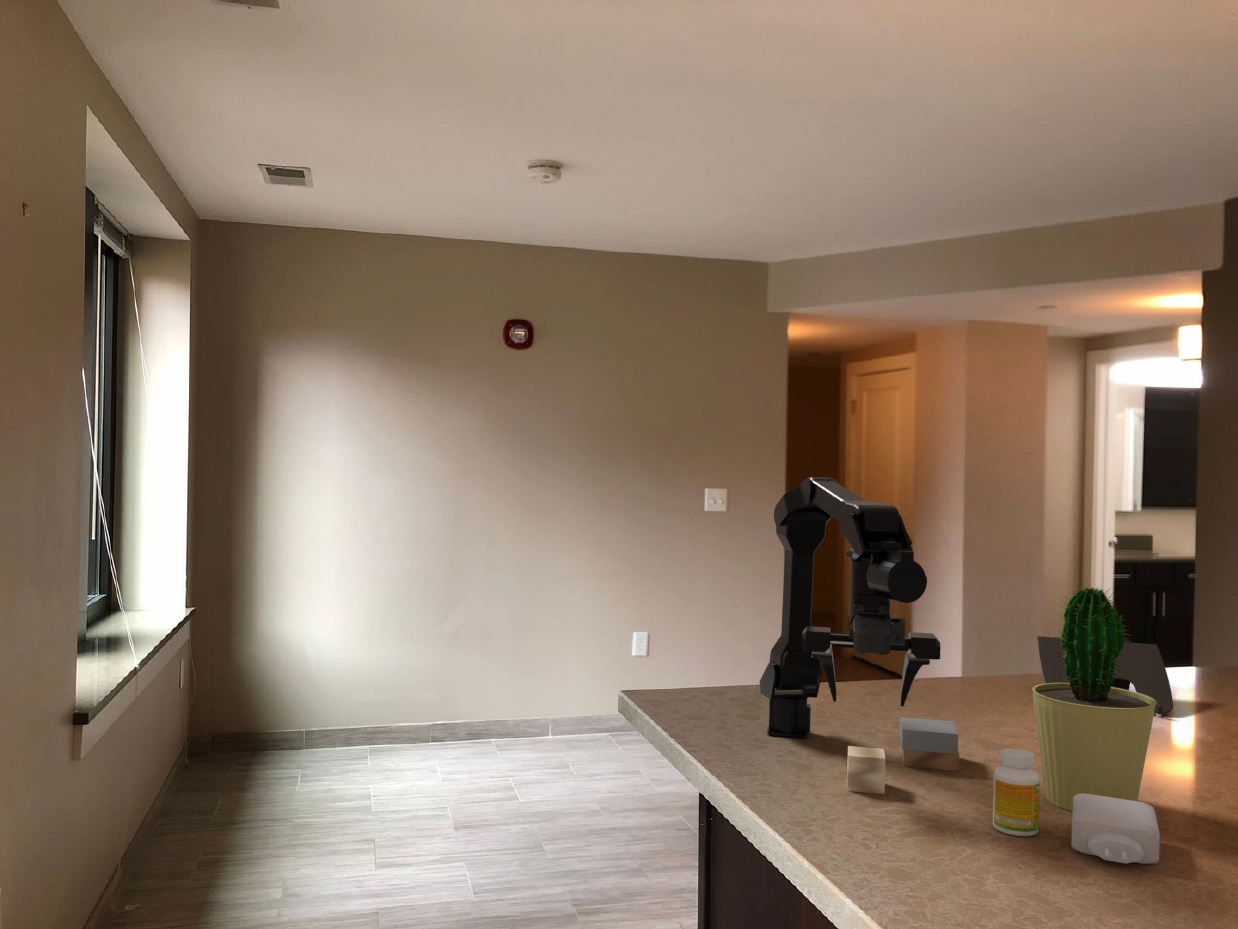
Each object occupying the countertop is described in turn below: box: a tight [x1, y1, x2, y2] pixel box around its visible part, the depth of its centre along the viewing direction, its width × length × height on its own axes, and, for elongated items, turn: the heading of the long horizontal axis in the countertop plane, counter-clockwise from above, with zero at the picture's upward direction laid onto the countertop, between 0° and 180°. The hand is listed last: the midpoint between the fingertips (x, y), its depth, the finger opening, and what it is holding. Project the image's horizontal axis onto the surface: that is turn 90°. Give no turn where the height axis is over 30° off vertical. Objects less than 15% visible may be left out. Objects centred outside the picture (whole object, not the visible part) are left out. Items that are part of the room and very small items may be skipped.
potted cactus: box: [1031, 583, 1157, 812], centre depth 138 cm, size 15×15×30 cm
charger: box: [1070, 794, 1161, 865], centre depth 119 cm, size 5×9×15 cm
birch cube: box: [846, 745, 886, 795], centre depth 142 cm, size 5×5×5 cm
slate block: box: [899, 716, 959, 754], centre depth 155 cm, size 8×8×3 cm
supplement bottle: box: [992, 747, 1041, 837], centre depth 127 cm, size 5×5×10 cm
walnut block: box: [900, 744, 960, 772], centre depth 155 cm, size 8×8×3 cm
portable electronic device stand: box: [1036, 636, 1174, 718], centre depth 200 cm, size 23×23×9 cm
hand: (868, 703), depth 142 cm, fingers open, 9 cm apart
